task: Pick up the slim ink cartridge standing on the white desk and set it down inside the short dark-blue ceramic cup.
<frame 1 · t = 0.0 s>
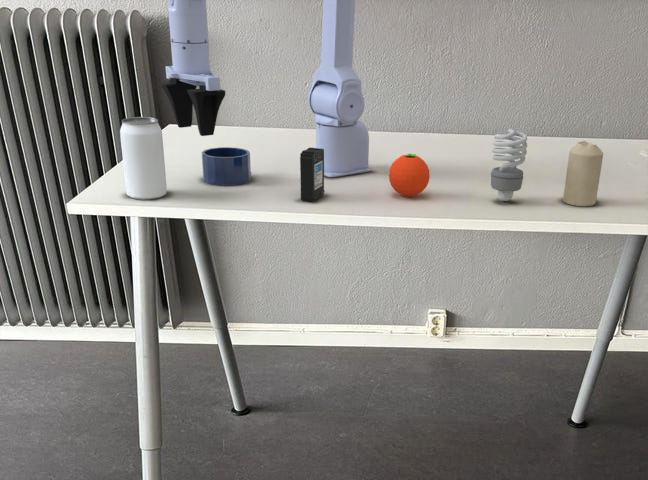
hand: (195, 130, 135), 10 cm above the table, tool pointing down, fingers open, 7 cm apart
can: (147, 196, 137), on the table
light bulb: (504, 203, 140), on the table
candle: (579, 203, 142), on the table
ink cartridge: (312, 199, 139), on the table
cup: (227, 179, 148), on the table
clementine: (408, 196, 142), on the table
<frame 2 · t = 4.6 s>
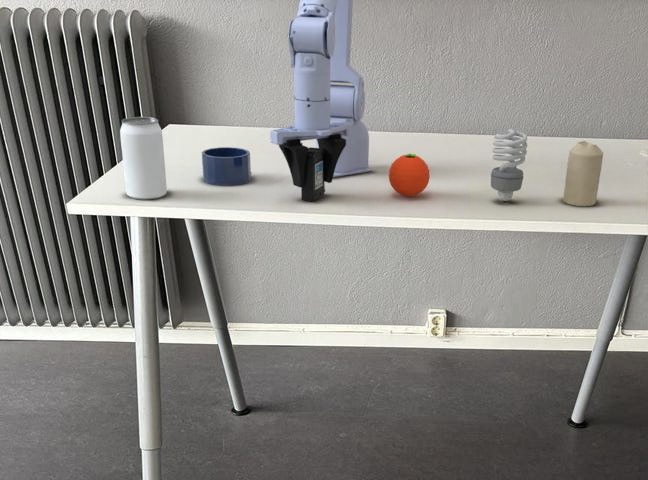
hand: (312, 183, 138), 2 cm above the table, tool pointing down, fingers closed on ink cartridge, 5 cm apart
ink cartridge: (313, 199, 139), on the table, touching gripper
everything else where it was.
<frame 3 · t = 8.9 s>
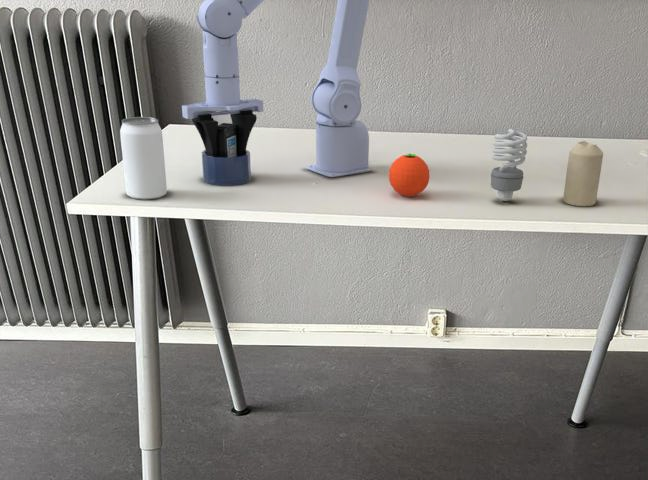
hand: (226, 157, 146), 4 cm above the table, tool pointing down, fingers closed on ink cartridge, 5 cm apart
ink cartridge: (228, 172, 147), point 1 cm above the table, touching gripper
everything else where it was.
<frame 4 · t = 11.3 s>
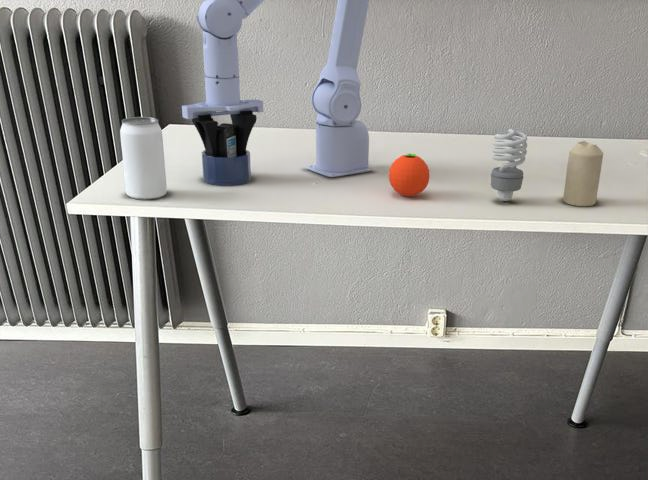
hand: (226, 157, 146), 4 cm above the table, tool pointing down, fingers closed on ink cartridge, 5 cm apart
ink cartridge: (228, 172, 147), point 1 cm above the table, touching gripper
everything else where it was.
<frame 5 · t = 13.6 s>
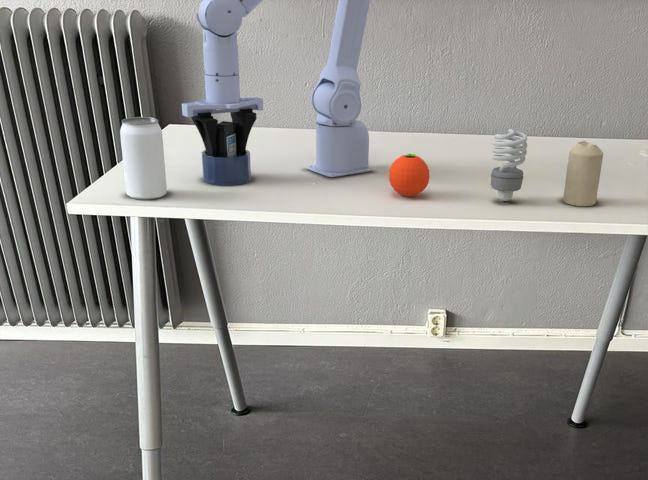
hand: (226, 155, 146), 4 cm above the table, tool pointing down, fingers closed on ink cartridge, 5 cm apart
ink cartridge: (227, 170, 147), point 2 cm above the table, touching gripper
everything else where it was.
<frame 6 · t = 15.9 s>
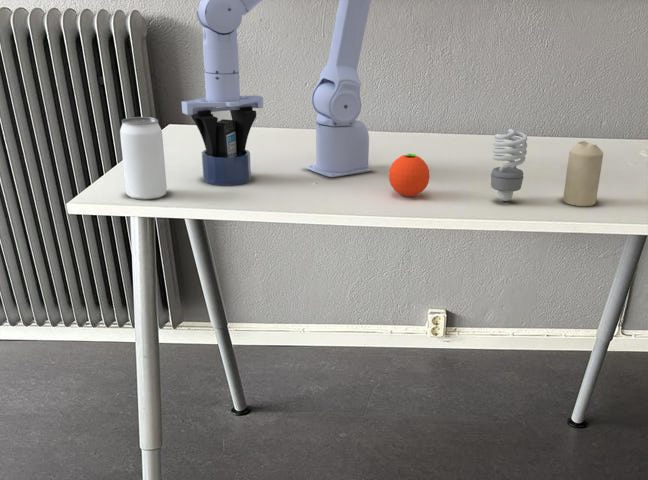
hand: (225, 153, 146), 5 cm above the table, tool pointing down, fingers closed on ink cartridge, 5 cm apart
ink cartridge: (228, 168, 147), point 2 cm above the table, touching gripper
everything else where it was.
when the fingers open (6 cm above the table, at t = 18.0 s): ink cartridge drops 2 cm, resting on cup.
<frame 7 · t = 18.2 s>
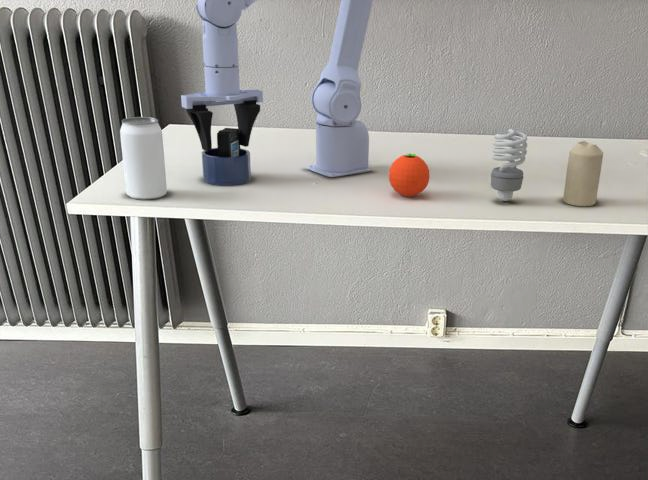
hand: (225, 147, 145), 6 cm above the table, tool pointing down, fingers open, 7 cm apart
ink cartridge: (230, 176, 148), resting on cup
everything else where it was.
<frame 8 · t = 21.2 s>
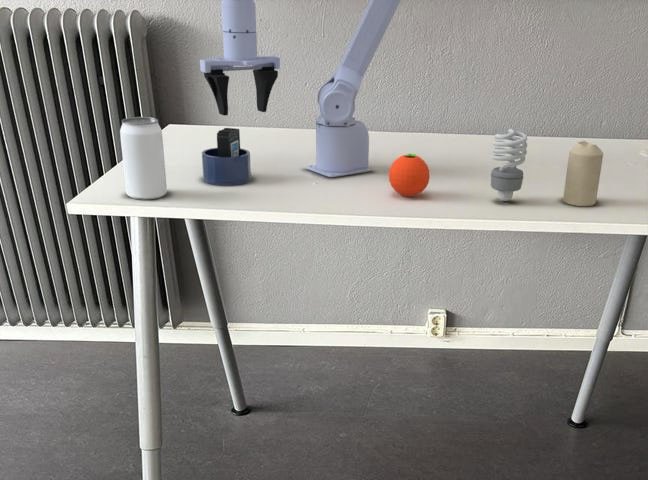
hand: (242, 112, 149), 10 cm above the table, tool pointing down, fingers open, 7 cm apart
nothing on the table moved.
at the end: ink cartridge inside the target area in the cup (0.8 cm from its centre), point 0.4 cm above the cup's base; the gripper is holding nothing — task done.
